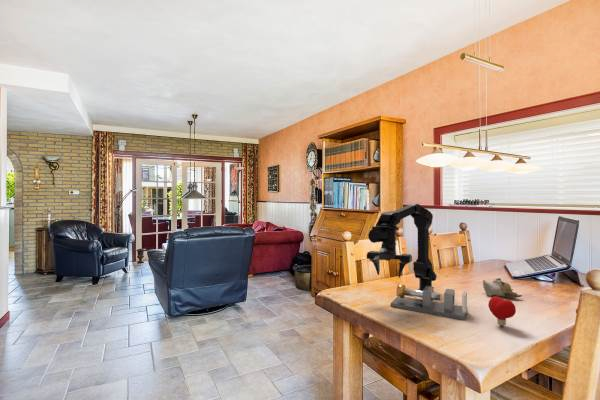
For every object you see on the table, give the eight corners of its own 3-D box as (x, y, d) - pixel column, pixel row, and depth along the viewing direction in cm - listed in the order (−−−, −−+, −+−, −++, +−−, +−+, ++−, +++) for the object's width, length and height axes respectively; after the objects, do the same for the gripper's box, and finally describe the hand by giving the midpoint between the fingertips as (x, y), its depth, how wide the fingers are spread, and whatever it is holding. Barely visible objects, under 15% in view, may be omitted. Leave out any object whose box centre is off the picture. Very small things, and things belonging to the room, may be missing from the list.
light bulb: (483, 322, 121) (483, 295, 121) (496, 320, 123) (497, 293, 123) (506, 332, 112) (507, 303, 112) (520, 329, 115) (521, 301, 114)
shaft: (399, 295, 145) (400, 282, 145) (441, 302, 136) (441, 288, 136) (396, 298, 140) (396, 285, 140) (439, 306, 131) (439, 292, 131)
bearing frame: (398, 298, 148) (398, 280, 148) (467, 310, 133) (467, 290, 133) (390, 306, 138) (390, 286, 138) (464, 320, 123) (464, 297, 123)
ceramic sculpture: (479, 274, 159) (513, 277, 156) (478, 291, 160) (511, 295, 157) (487, 279, 149) (524, 283, 146) (486, 298, 149) (522, 302, 146)
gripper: (362, 241, 141) (362, 277, 141) (406, 244, 132) (406, 283, 132) (370, 238, 151) (370, 272, 151) (412, 241, 141) (412, 277, 142)
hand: (388, 276), depth 144 cm, fingers open, 9 cm apart
